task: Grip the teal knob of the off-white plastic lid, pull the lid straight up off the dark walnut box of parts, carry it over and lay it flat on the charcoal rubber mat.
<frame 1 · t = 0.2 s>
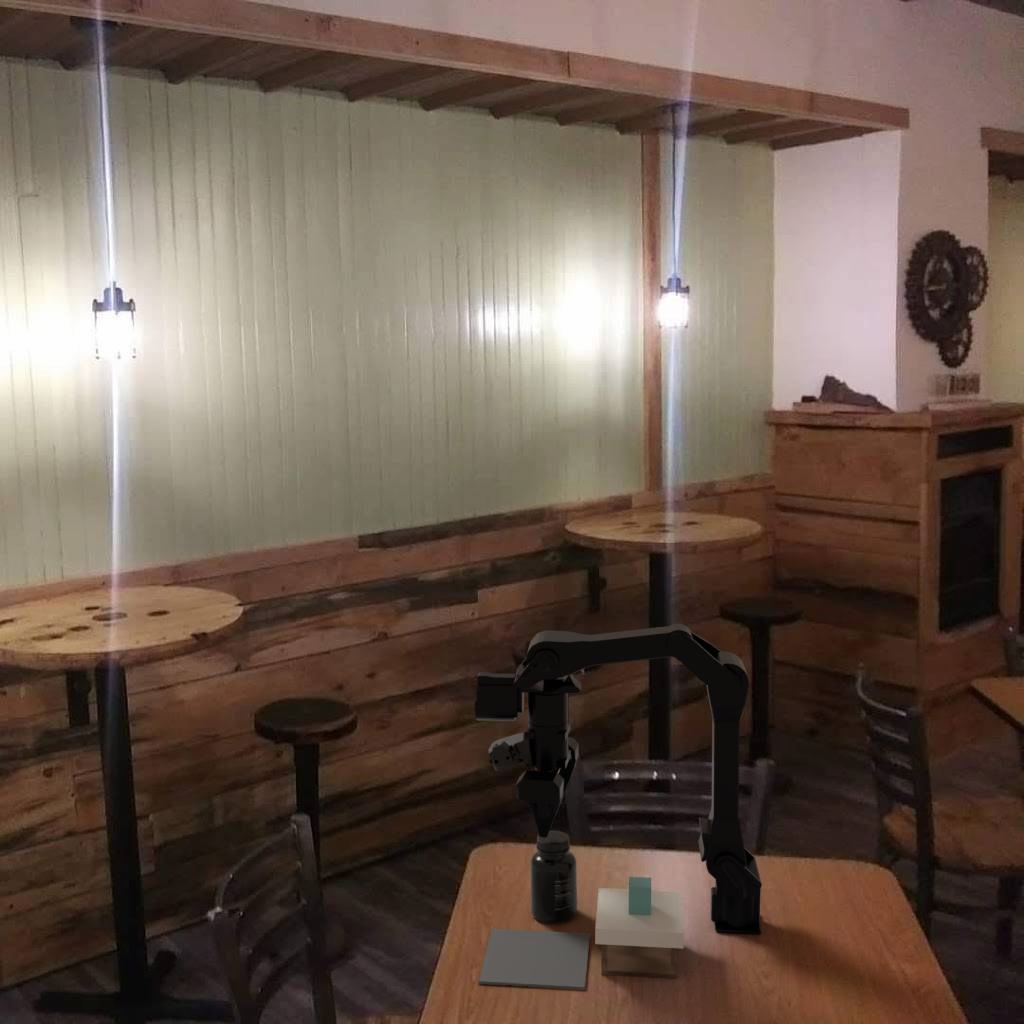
hand: (548, 823, 178), 14 cm above the table, tool pointing down, fingers open, 9 cm apart
parts box: (639, 957, 169), on the table
lid: (639, 924, 168), point 5 cm above the table, touching parts box
supplement bottle: (553, 915, 181), on the table
mat: (536, 959, 169), on the table
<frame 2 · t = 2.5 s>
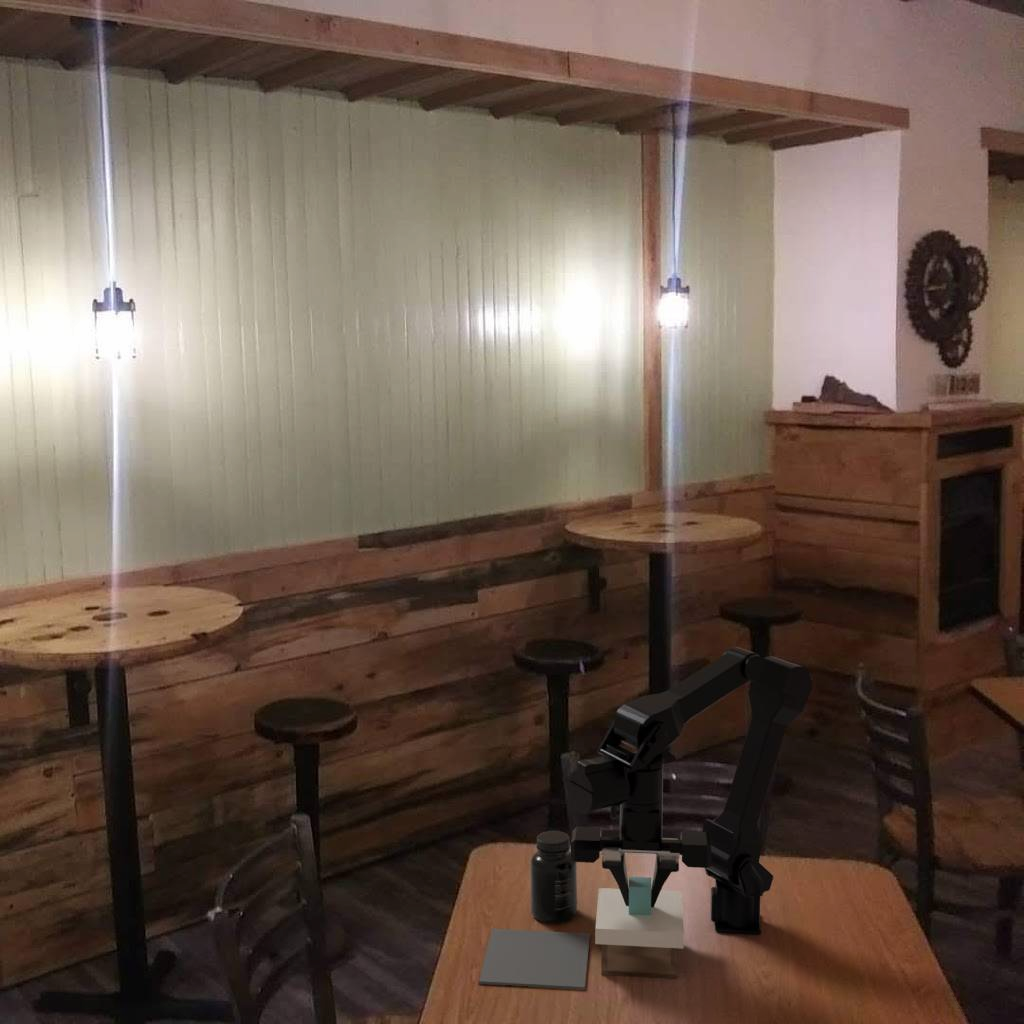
hand: (639, 905, 168), 8 cm above the table, tool pointing down, fingers closed on lid, 3 cm apart
lid: (639, 924, 168), point 5 cm above the table, touching gripper, parts box
everything else where it was.
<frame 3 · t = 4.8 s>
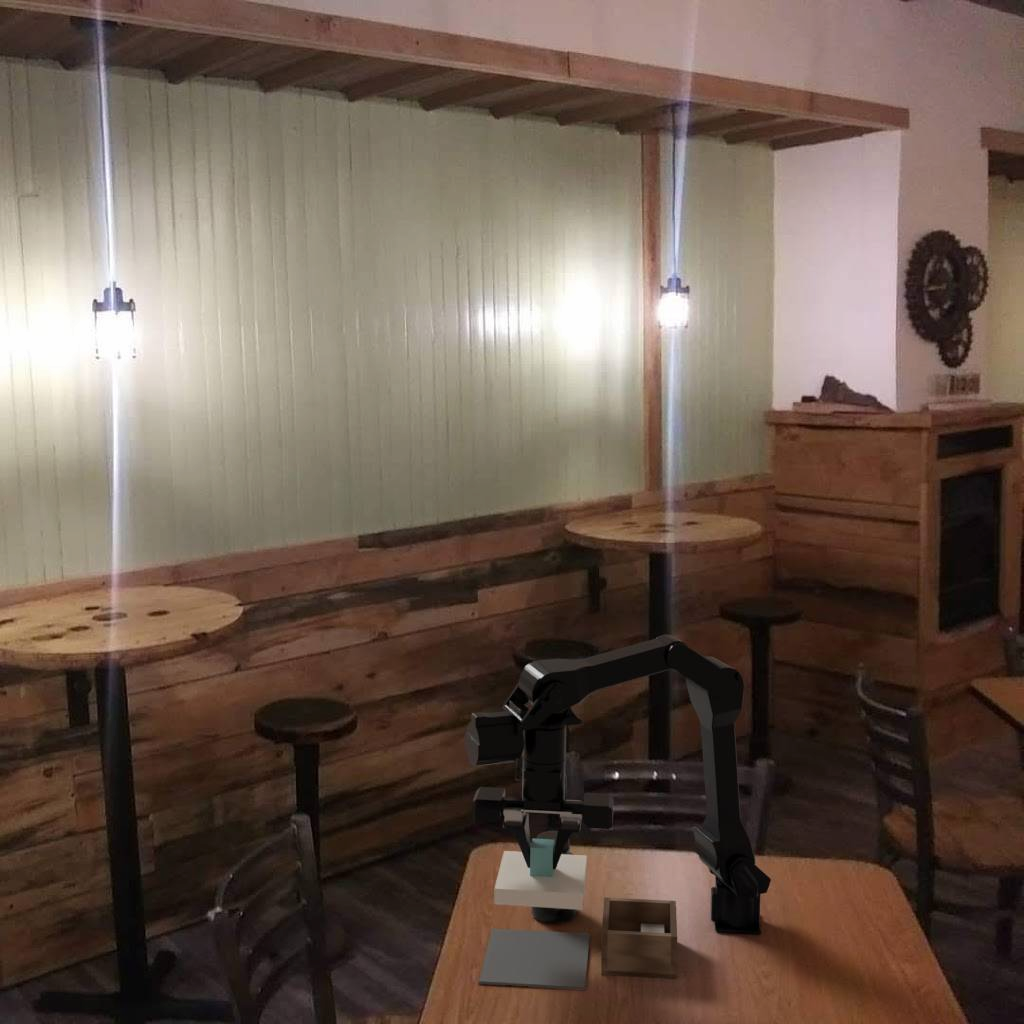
hand: (542, 867, 166), 13 cm above the table, tool pointing down, fingers closed on lid, 3 cm apart
lid: (541, 886, 167), point 11 cm above the table, touching gripper
everything else where it was.
when the fingers open (4 cm above the table, at t = 7.2 s): lid drops 1 cm, resting on mat.
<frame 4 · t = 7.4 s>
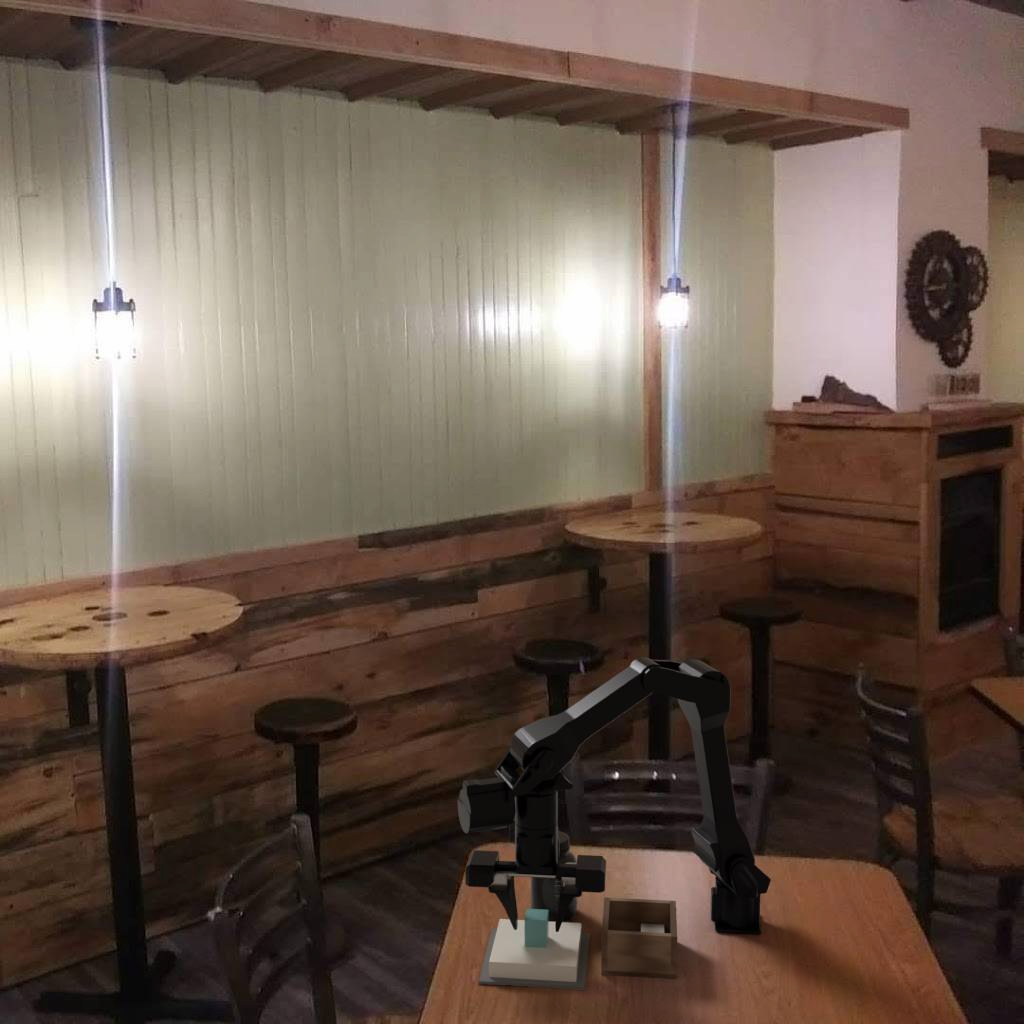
hand: (536, 929, 168), 4 cm above the table, tool pointing down, fingers open, 5 cm apart
lid: (536, 956, 168), resting on mat
everything else where it was.
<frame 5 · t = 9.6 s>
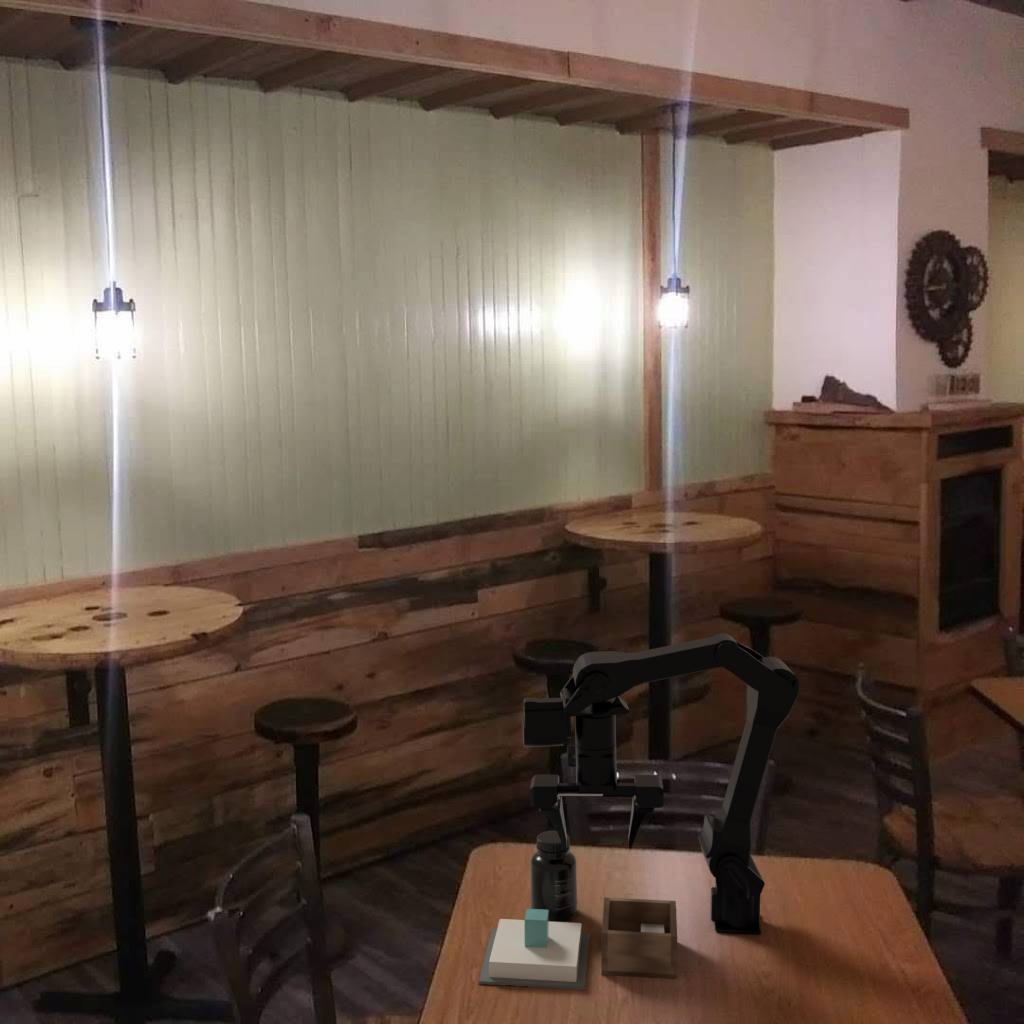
hand: (597, 847, 176), 12 cm above the table, tool pointing down, fingers open, 9 cm apart
nothing on the table moved.
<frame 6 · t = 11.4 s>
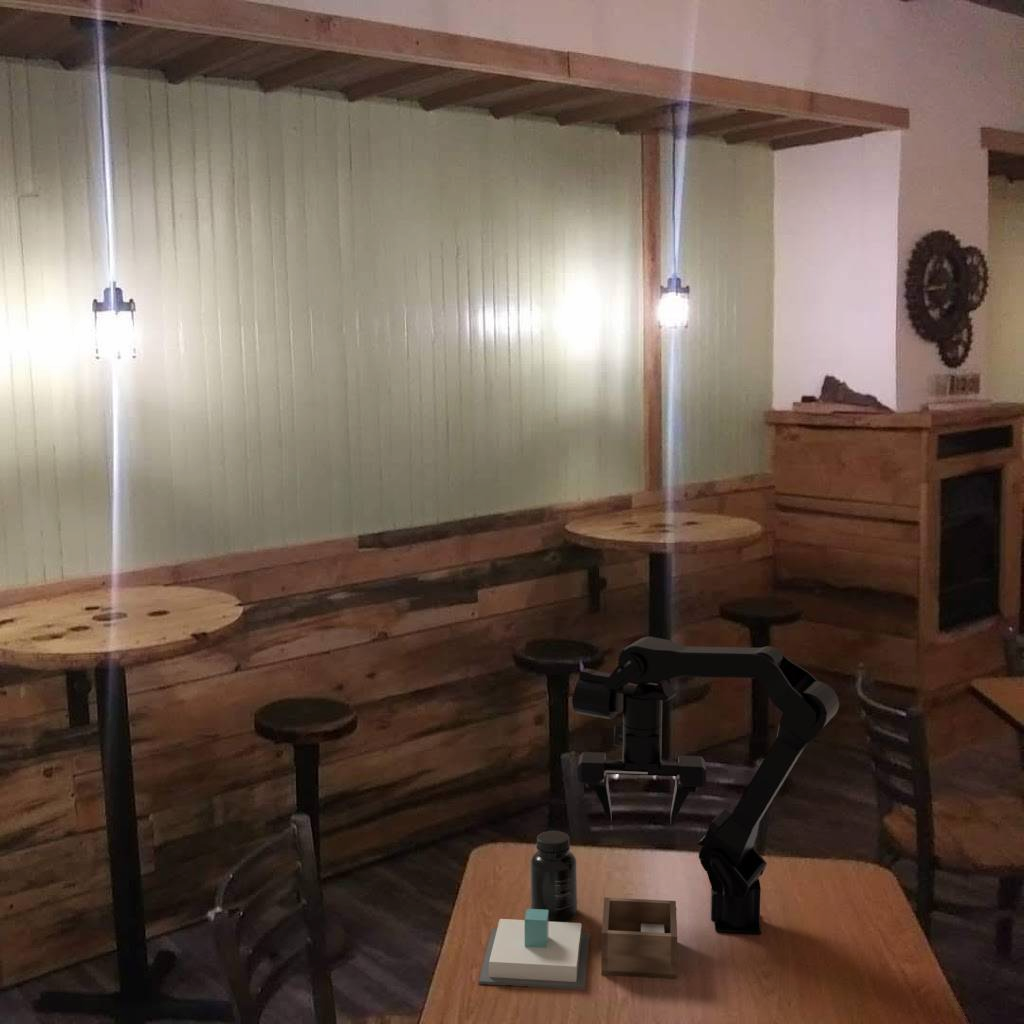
hand: (640, 823, 184), 12 cm above the table, tool pointing down, fingers open, 9 cm apart
nothing on the table moved.
at the end: lid inside the target area on the mat (0.1 cm from its centre), point 0.4 cm above the mat's base; lid tilted 0°; the gripper is holding nothing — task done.
